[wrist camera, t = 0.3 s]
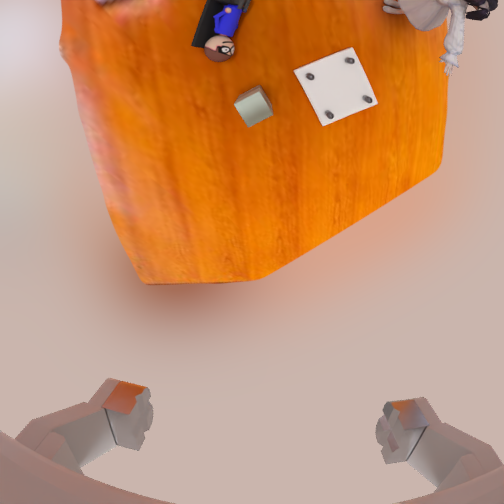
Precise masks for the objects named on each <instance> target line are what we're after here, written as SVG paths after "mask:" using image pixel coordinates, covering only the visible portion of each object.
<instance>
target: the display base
mask: <svg viewBox="0 0 504 504" xmlns="http://www.w3.org/2000/svg"><path fill="white" fill-rule="evenodd" d="M293 71H294V73H295V75H296V77H297V79H298V80H299V82H300V84H301V86H302V88H303V89H304V91H305V93H306V95H307V97H308V99H309V101H310V103H311V105H312V107H313V109H314V111H315V112H316V114H317V116H318V118H319V120H320V123H321V124H322V126H325V125H327V124H330V123H332V122H334V121H337V120H339V119H341V118H344V117H346V116H349V115H351V114H353V113H356V112H358V111H361V110H363V109H366V108H369V107H371V106H374V105H376V104H378V103H377V100H376V98H375V95H374V93H373V90H372V88H371V86H370V83H369V81H368V79H367V77H366V74H365V72H364V70H363V68H362V66H361V64H360V62H359V59H358V57H357V55H356V53H355V51H354V49H353V47H350V48H347V49H344V50H341V51H339V52H336V53H333V54H331V55H328V56H326V57H323V58H321V59H318V60H316V61H313V62H311V63H309V64H306V65H304V66H302V67H299V68H297V69H295V70H293Z"/></svg>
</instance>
